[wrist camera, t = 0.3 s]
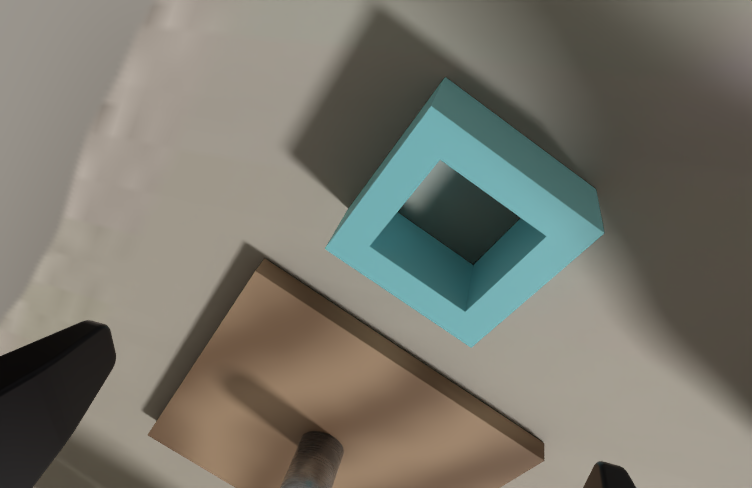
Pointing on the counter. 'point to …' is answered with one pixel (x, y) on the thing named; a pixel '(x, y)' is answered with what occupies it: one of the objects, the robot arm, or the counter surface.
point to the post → (314, 462)
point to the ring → (495, 177)
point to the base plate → (331, 401)
